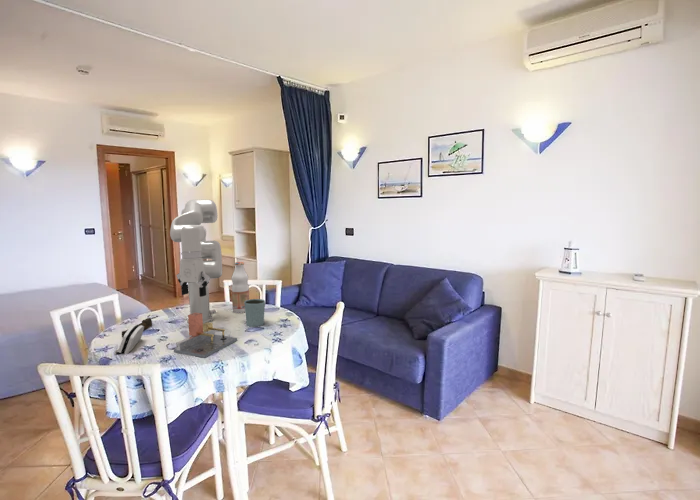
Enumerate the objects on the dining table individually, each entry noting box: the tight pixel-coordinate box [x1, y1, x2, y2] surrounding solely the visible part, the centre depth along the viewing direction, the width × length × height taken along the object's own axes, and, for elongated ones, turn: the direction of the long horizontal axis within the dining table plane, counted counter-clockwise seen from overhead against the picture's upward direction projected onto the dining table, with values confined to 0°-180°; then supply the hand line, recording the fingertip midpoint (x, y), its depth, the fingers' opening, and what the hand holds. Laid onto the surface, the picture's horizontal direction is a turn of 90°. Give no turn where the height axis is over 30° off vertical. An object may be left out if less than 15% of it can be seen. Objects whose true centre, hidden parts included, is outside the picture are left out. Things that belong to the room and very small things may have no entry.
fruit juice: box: [231, 261, 250, 314], centre depth 209 cm, size 9×9×28 cm
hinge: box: [113, 324, 145, 355], centre depth 157 cm, size 17×5×10 cm, turn 13°
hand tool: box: [121, 317, 153, 338], centre depth 176 cm, size 19×4×5 cm, turn 172°
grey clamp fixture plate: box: [173, 322, 238, 359], centre depth 157 cm, size 20×16×7 cm
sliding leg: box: [187, 313, 214, 344], centre depth 158 cm, size 4×11×12 cm, turn 69°
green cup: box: [244, 298, 266, 328], centre depth 186 cm, size 10×10×12 cm
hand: (194, 295), depth 157 cm, fingers open, 9 cm apart
